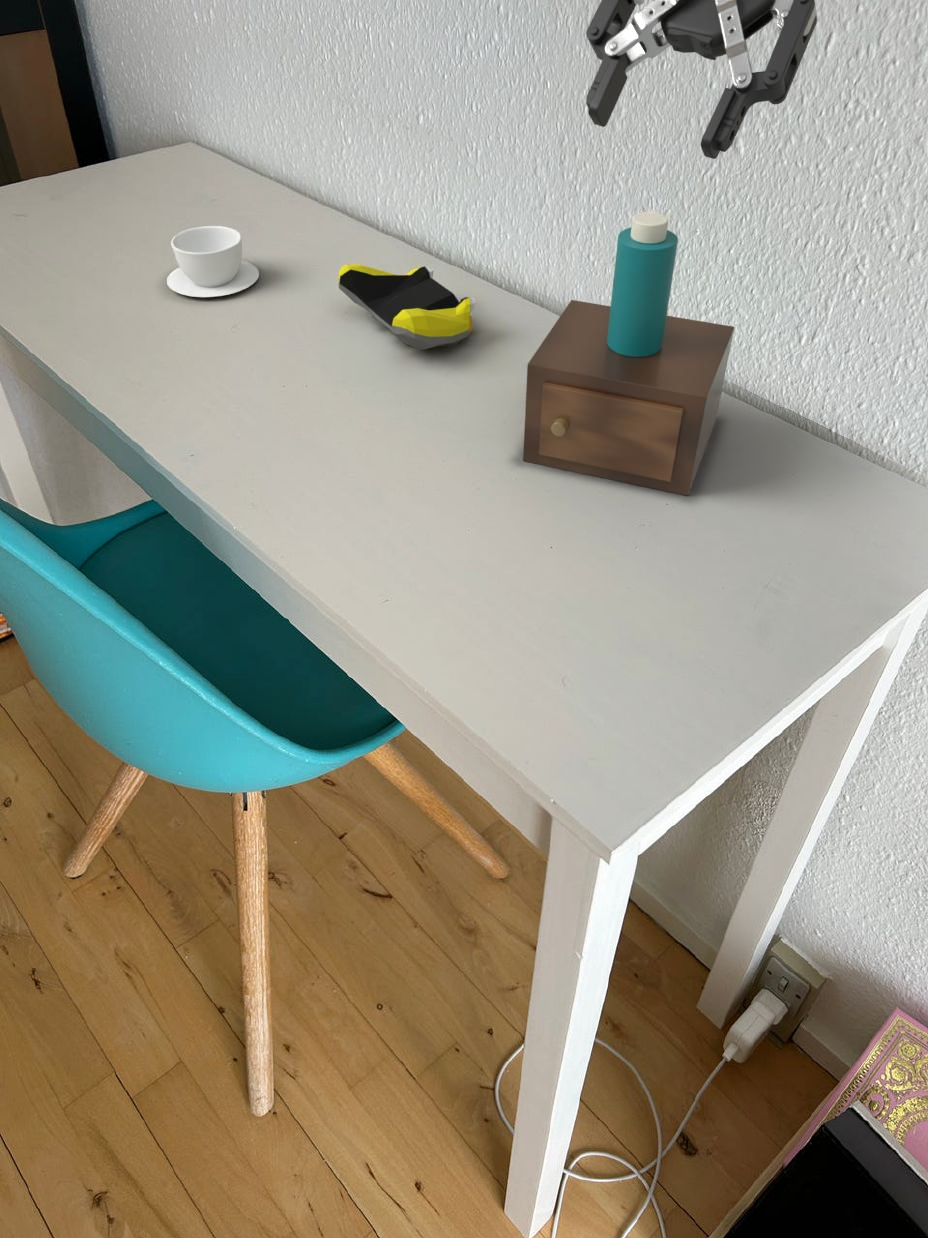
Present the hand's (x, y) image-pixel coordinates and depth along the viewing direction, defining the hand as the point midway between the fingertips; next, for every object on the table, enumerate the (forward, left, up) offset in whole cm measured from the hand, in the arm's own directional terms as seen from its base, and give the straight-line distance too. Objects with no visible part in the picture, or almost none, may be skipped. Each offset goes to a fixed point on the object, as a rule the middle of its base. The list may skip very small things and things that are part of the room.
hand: (650, 136), depth 66 cm
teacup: (+50, -17, -25) cm, 58 cm away
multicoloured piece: (+25, -14, -25) cm, 38 cm away
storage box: (0, -2, -25) cm, 25 cm away
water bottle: (0, -2, -16) cm, 16 cm away
